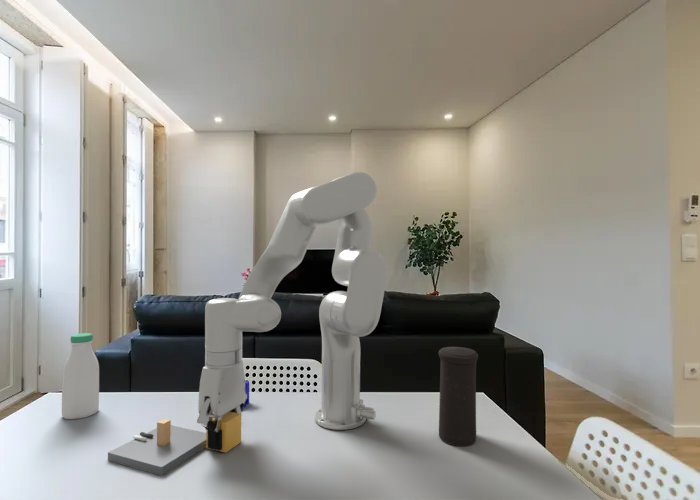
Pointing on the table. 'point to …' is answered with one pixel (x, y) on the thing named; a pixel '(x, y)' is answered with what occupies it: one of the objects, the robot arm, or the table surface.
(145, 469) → the plate
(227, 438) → the mustard yellow cube
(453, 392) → the container
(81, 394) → the milk bottle
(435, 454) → the table surface
